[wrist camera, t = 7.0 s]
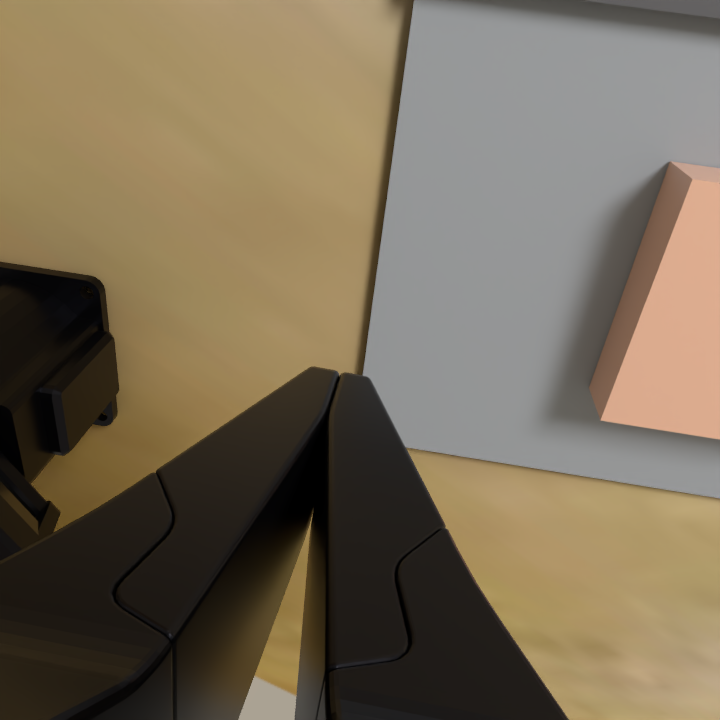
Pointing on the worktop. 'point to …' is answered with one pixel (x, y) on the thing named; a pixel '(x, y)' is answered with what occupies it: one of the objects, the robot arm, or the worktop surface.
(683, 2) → the turner
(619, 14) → the mat
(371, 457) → the robot arm
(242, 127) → the worktop surface
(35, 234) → the worktop surface
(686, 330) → the tile
